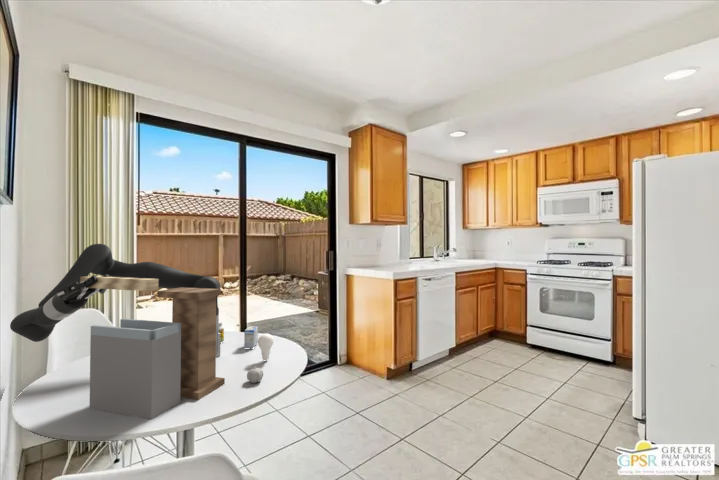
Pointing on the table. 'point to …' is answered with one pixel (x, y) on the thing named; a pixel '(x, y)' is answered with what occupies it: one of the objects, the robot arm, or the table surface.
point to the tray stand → (135, 367)
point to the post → (196, 339)
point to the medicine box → (251, 337)
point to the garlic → (255, 374)
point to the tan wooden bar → (124, 283)
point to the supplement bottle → (221, 332)
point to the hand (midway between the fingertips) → (102, 277)
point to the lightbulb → (265, 345)
